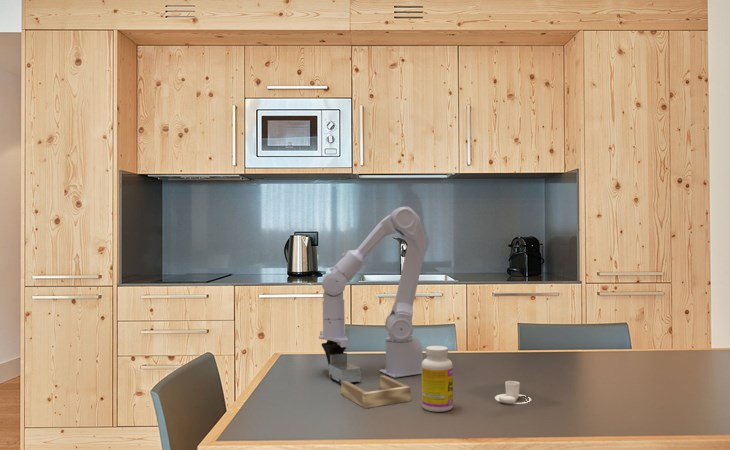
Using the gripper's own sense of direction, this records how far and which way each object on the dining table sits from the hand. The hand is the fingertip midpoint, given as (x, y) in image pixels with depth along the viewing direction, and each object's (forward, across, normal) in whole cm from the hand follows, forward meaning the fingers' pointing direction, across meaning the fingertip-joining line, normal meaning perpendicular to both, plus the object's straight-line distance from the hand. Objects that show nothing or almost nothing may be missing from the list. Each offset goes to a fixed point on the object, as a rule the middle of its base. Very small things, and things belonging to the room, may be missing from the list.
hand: (334, 370), depth 154 cm
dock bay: (+1, +22, 0) cm, 23 cm away
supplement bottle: (+2, +36, +8) cm, 37 cm away
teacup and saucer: (+2, +37, +24) cm, 44 cm away
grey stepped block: (+1, +6, 0) cm, 7 cm away
